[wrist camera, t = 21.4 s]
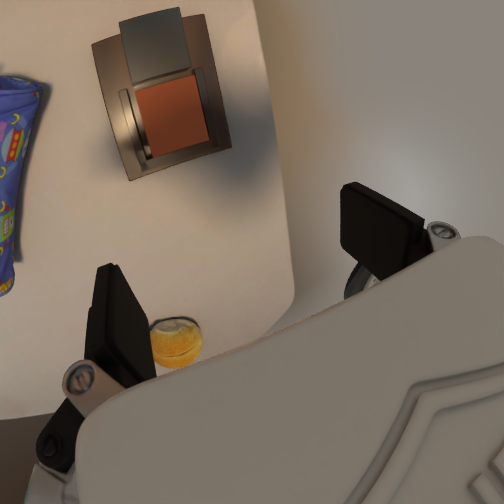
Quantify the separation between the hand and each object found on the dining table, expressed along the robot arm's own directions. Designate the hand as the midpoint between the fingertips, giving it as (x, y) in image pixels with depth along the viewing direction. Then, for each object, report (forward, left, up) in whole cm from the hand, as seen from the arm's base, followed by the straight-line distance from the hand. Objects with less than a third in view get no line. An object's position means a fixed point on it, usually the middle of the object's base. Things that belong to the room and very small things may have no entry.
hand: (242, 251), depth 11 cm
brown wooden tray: (+4, -5, -20) cm, 21 cm away
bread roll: (-9, +25, -20) cm, 33 cm away
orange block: (+3, -3, -19) cm, 20 cm away
